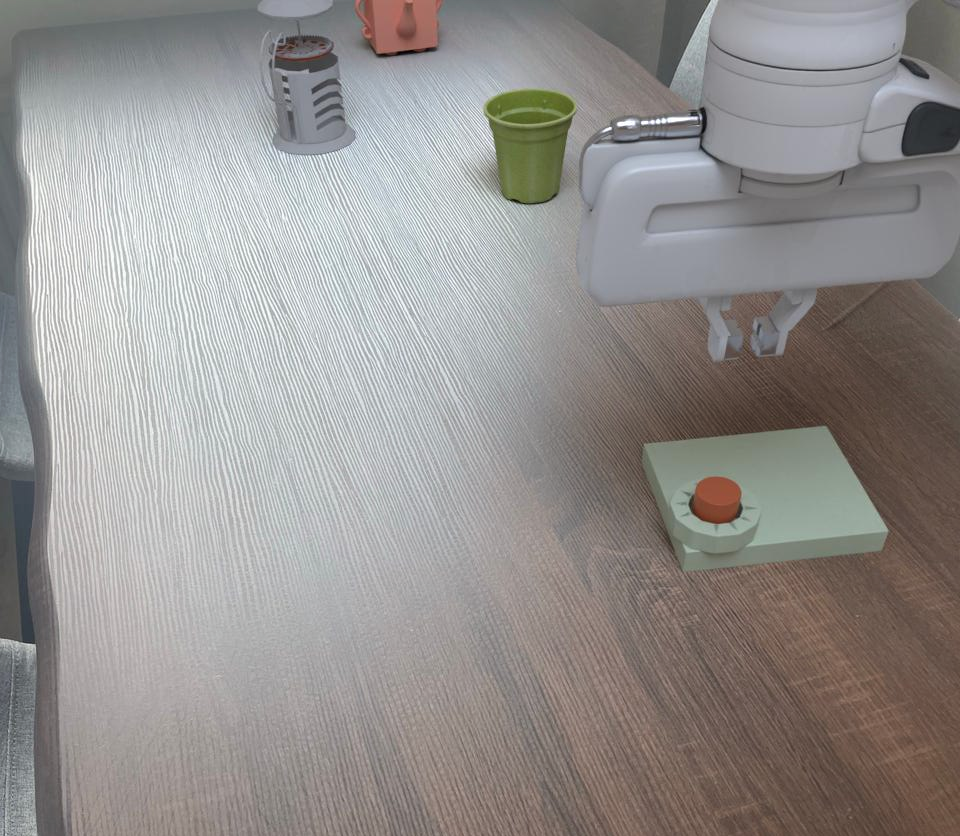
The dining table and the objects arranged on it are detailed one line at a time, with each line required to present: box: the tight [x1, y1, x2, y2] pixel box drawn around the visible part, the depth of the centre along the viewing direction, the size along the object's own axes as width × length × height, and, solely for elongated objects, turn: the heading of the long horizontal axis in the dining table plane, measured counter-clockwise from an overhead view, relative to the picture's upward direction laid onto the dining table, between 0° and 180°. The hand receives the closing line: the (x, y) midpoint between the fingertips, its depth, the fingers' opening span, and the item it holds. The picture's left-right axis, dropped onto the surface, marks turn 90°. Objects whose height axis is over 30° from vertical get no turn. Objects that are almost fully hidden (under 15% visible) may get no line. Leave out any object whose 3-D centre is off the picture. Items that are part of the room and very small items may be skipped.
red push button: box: [692, 476, 742, 524], centre depth 68 cm, size 3×3×2 cm
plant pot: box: [482, 88, 578, 204], centre depth 106 cm, size 9×9×9 cm
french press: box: [257, 0, 356, 156], centre depth 110 cm, size 10×12×25 cm
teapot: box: [354, 0, 443, 56], centre depth 136 cm, size 12×15×8 cm
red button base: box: [641, 425, 890, 573], centre depth 72 cm, size 14×12×4 cm
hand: (744, 353), depth 60 cm, fingers closed
